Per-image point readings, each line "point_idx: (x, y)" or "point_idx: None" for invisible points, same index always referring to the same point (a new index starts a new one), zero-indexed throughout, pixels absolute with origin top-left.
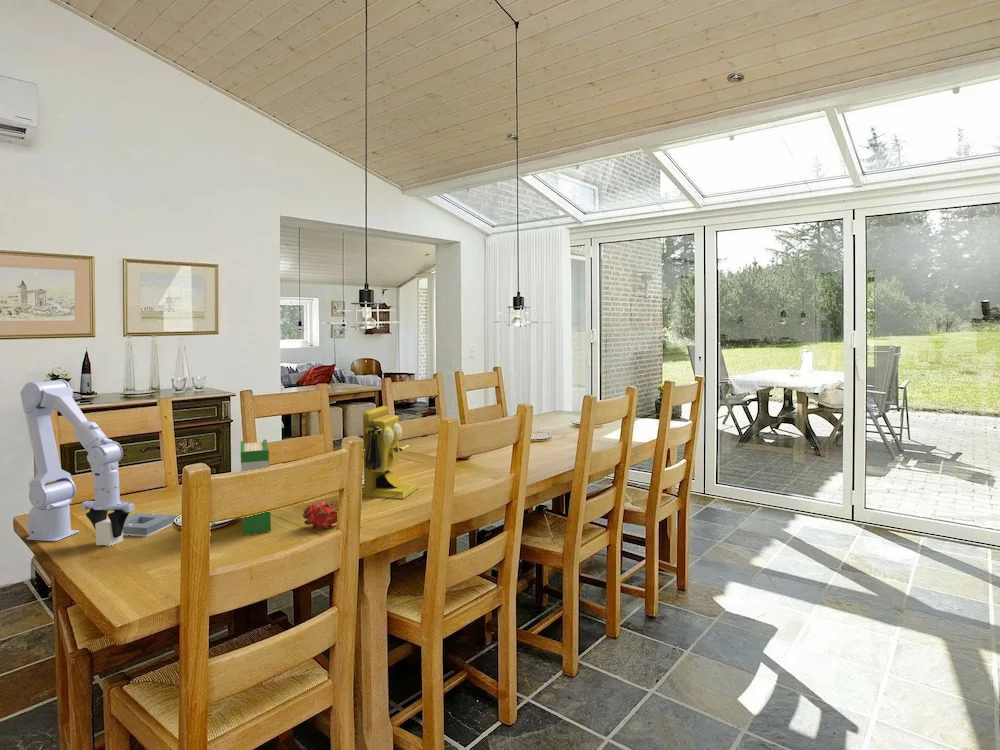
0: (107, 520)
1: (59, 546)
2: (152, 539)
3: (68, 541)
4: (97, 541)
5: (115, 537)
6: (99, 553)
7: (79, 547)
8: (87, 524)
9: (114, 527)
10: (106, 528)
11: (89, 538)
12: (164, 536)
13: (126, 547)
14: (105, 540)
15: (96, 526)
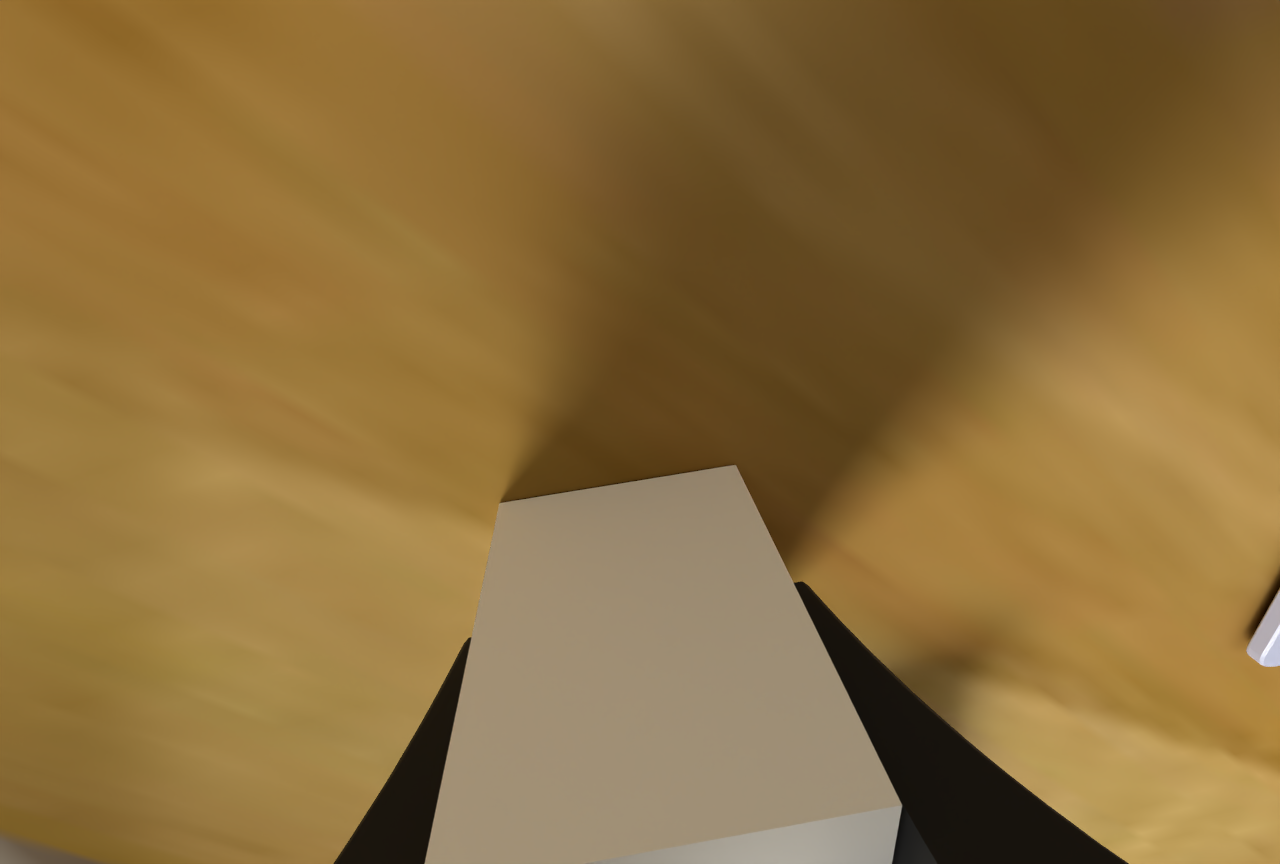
0: None
1: (1250, 263)
2: (257, 779)
3: (1217, 443)
4: (724, 501)
5: (466, 641)
6: (331, 224)
7: (912, 329)
8: (1261, 772)
9: (367, 831)
10: (540, 750)
11: (1010, 584)
12: (242, 851)
13: (232, 543)
14: (579, 542)
15: (827, 734)
